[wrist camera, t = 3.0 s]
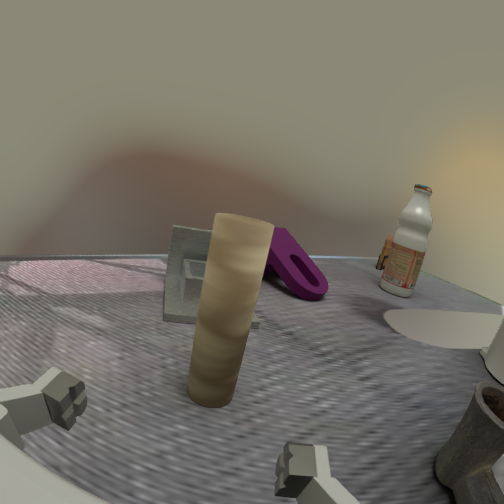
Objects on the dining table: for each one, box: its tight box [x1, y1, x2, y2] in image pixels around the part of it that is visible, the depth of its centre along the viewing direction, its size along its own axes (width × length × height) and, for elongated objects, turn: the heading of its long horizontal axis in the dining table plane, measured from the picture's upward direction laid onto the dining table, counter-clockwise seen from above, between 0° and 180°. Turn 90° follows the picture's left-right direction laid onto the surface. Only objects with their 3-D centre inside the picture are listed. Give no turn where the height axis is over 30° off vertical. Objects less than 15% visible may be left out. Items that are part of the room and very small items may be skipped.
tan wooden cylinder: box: [187, 213, 274, 408], centre depth 21 cm, size 4×4×15 cm
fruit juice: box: [380, 184, 433, 297], centre depth 65 cm, size 9×9×28 cm
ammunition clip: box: [376, 235, 394, 270], centre depth 94 cm, size 11×2×12 cm, turn 138°
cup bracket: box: [164, 225, 260, 329], centre depth 39 cm, size 12×13×9 cm
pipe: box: [435, 381, 504, 504], centre depth 11 cm, size 6×13×8 cm, turn 168°
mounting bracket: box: [263, 227, 328, 301], centre depth 57 cm, size 9×8×18 cm
